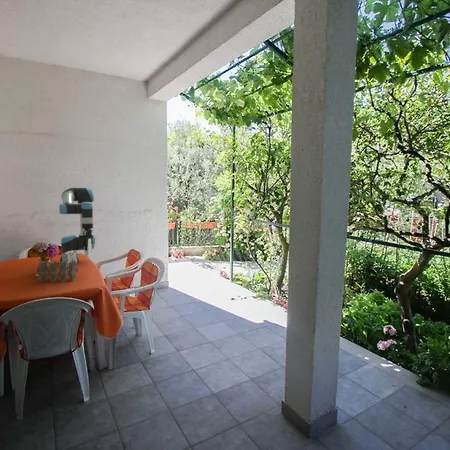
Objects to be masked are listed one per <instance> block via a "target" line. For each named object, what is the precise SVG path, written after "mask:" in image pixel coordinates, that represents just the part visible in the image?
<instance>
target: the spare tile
mask: <svg viewBox="0 0 450 450" xmlns="http://www.w3.org/2000/svg"><path fill="white" fill-rule="evenodd" d="M88 247H89V255H85V254H84V257H85V258H90V257H91V256H92V252H91V238H89V239H88Z"/></svg>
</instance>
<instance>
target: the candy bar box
mask: <svg viewBox="0 0 450 450" xmlns="http://www.w3.org/2000/svg"><path fill="white" fill-rule="evenodd" d="M77 251H78V250H77ZM77 251H73V250H72V251H68V252H65V253H62V252H61V255H62V261H66V272H67V276H69V267H68V263H70V262H71V261H76V272H78V271H79V270H78V263H77V256H78V253H77Z"/></svg>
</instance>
